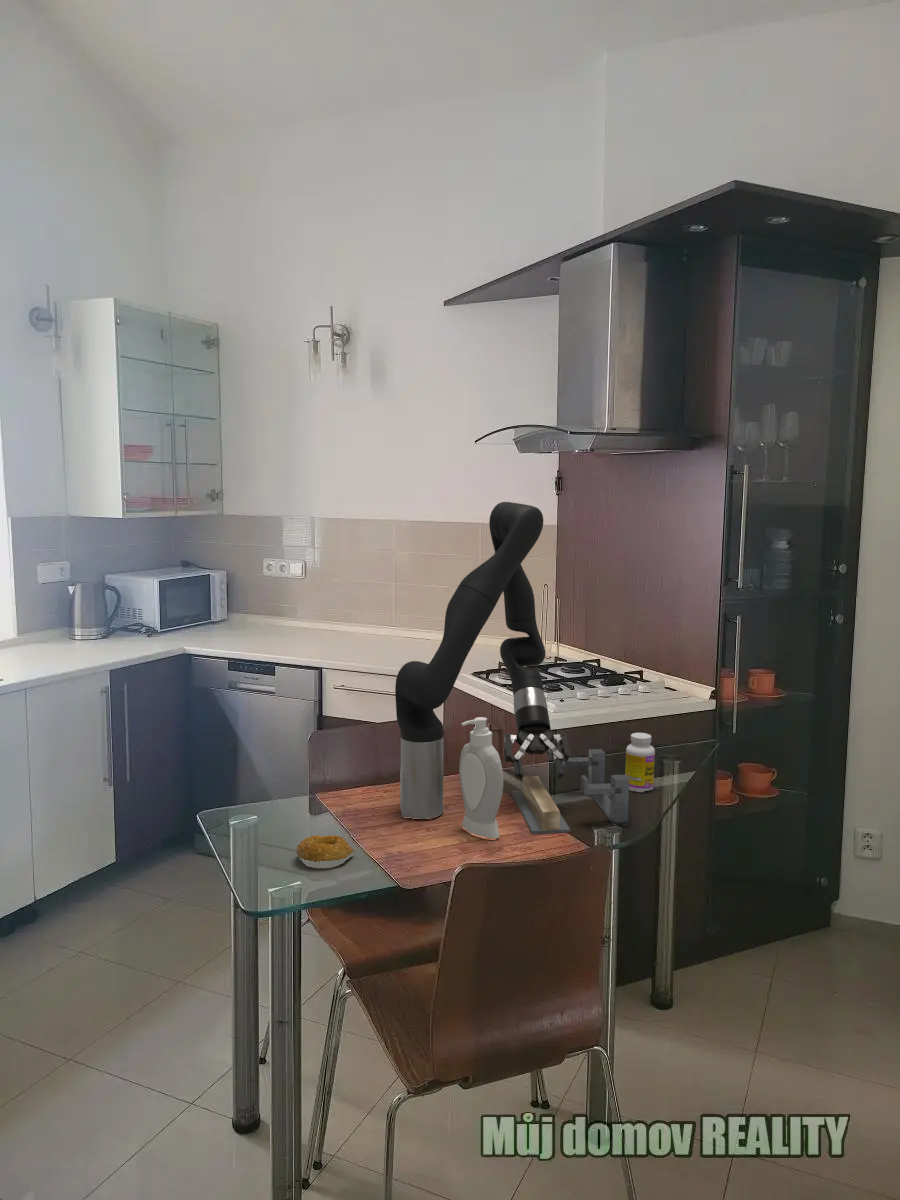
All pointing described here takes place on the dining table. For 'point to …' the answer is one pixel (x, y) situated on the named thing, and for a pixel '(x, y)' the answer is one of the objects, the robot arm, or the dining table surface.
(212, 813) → the dining table surface
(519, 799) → the mat
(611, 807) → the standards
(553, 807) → the rail
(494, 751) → the soap bottle
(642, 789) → the supplement bottle
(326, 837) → the bagel
